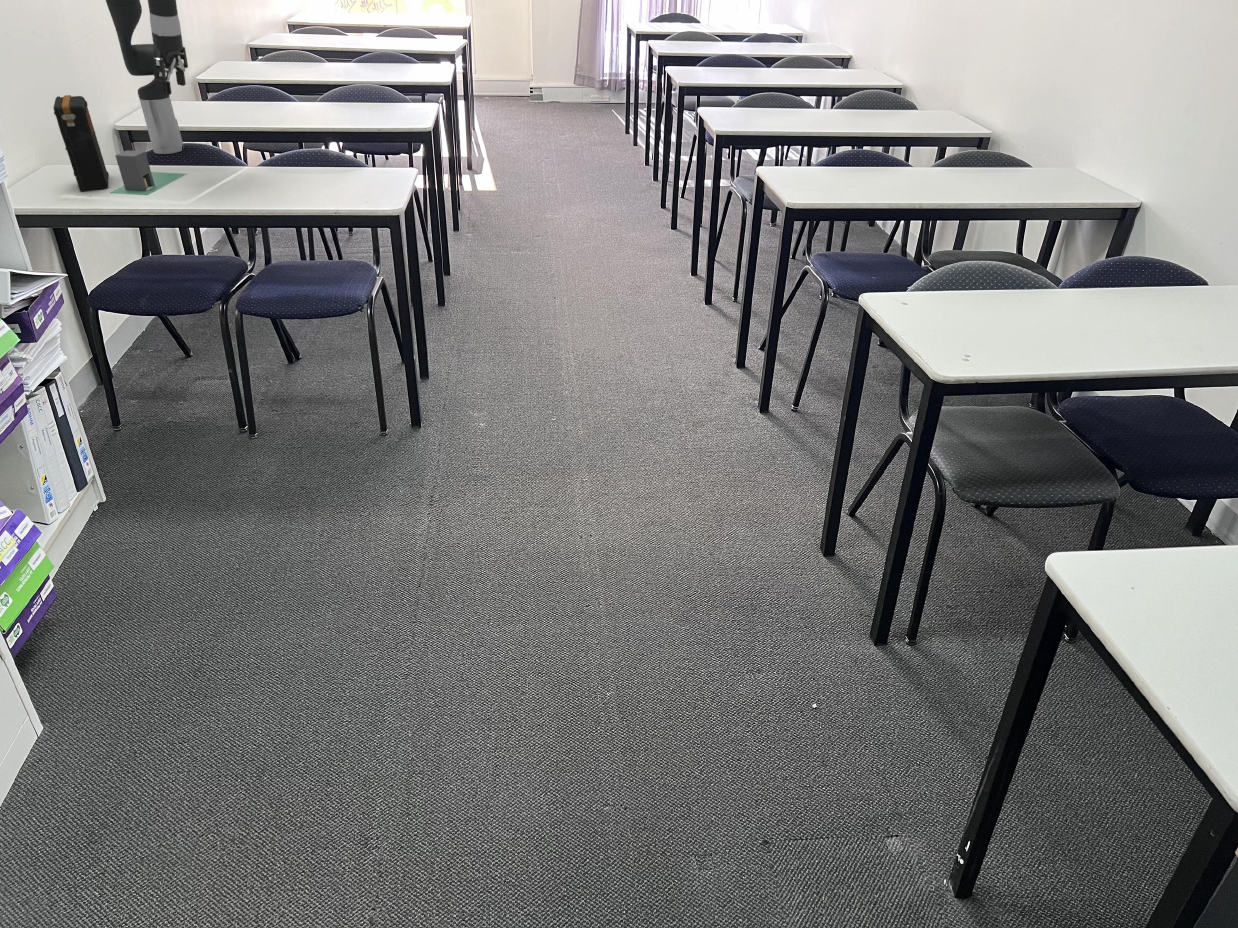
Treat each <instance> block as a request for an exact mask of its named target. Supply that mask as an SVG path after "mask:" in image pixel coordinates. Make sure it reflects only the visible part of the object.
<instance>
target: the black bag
mask: <svg viewBox="0 0 1238 928" xmlns="http://www.w3.org/2000/svg"><path fill="white" fill-rule="evenodd" d="M88 107H89V106H88V101H87V100H86V99H85V98H84V96H82V95H75V96H73V95H71V94H66V95H63V96H62V97H61V96H60V95H59V96H56V97H55V100H54V104H53V107H52V108H53V115H55V118H56V121H57V125H58V128H59V131H60V134H61V137H62V140H63V142H64V145H65V151H66V153H67V155H68V158H69V161H70V162H69V163H70V164H71V168H72V171H73V176H74V177H75V179H76V183H77V187H78V189H79V191H80V192H81V193H84V192H92V191H94V192H95V191H103V190H107V189H108V188H109V177H110V176H109V175H110V174H109V172H108V171H107V167H106V165H105V162H104V157H103V154H102V151H101V147H100V145H99V141H98V137H97V135H96V131H95V127H94V125H93V121H92V118H91V115H90V111H89V109H88Z"/></svg>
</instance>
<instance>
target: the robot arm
mask: <svg viewBox="0 0 1238 928" xmlns="http://www.w3.org/2000/svg"><path fill="white" fill-rule="evenodd" d="M105 3H106V6H107V8H108V11H109V14H110V17H111V21H112V23H113V25H114V28H115V32H116V35H117V39H118V43H119V46H120V50H121V55H122V58H123V61H124V65H125V69H126V70H127V72H128V73H129V74H130V75H131V76H135V77H144V76H146V77H147V76H148V77H149V76H154V78H153V79H152V80H151V81H150V82H148V84H145V85H142V86H140V87H138V89H137V96H138V99H139V102H140V106H141V110H142V113H143V117H144V121H145V124H146V128H147V132H148V135H149V139H150V144H151V146H152V150H153V153H154V154H159V155H163V154H164V155H169V154H175V153H179V152H182V151H183V150H182V144H183V145H184V142H183V138H182V135H181V131H180V127H179V122H178V120H177V118H176V116H175V113H174V112H175V111H174V108H173V104H172V99H171V97H170V95H172V87H171V80H170V78H171V75H173V72H174V70H175V76H176V78H175V79H176V84H177V86H182V87H184V86H185V85H186V83H187V82H186V77H185V73H186V69H188V67H189V65H188V58H187V51H186V47H185V46H184V43H183V36H182V30H181V29H182V28H181V21H180V19H179V13H178V5H177V0H147V5H148V11H149V23H150V31H151V39H152V43H141V44H132V39H133V34H134V32H135V30H136V28H137V26H138V24H139V22H140V20H141V16H142V12H143V9H142V5H141V0H105Z"/></svg>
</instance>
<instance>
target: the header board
mask: <svg viewBox="0 0 1238 928" xmlns="http://www.w3.org/2000/svg"><path fill="white" fill-rule="evenodd" d="M151 174H152V177H153V181H154V185H155V186H153V187H150V186H147V182H146V179H145V178H144V181H145V185H146V189H147V190H145V191H138V190H125V187H124V185H122V186H121V187H118V188H116V189H114V190H113V191H110V192H109V194H118V195H137V196H138V195H139V196H149V195H151V194H152V193H154V192H156V191H158V190H160V189H162V188H164V187H166V186H168V185H170V184H172V183H173V182H175V181H176V180H179V179H181V178H182V177H184V176H186V175H187V173H179V172H165V171H164V172H161V171H160V172H159V171H151Z"/></svg>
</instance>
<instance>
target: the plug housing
mask: <svg viewBox="0 0 1238 928" xmlns="http://www.w3.org/2000/svg"><path fill="white" fill-rule="evenodd" d="M114 156H115V159H116V162H117V166H118V168H119V173H120V176H121V180H122V183H123V186H124V187H125V190H138V191H145V190H147V189H146V185H145V181H144V178H145V179H146V182H147V186H150V187H153V186H155V185H154V181H153V177H152V174H151V172H152V170H151V167H150V163H149V159H148V155H147V152H146V151H145V150H143V151H142V150H127V149H126V150H124V151H122V152H120V153H117V154H115V155H114Z"/></svg>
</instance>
